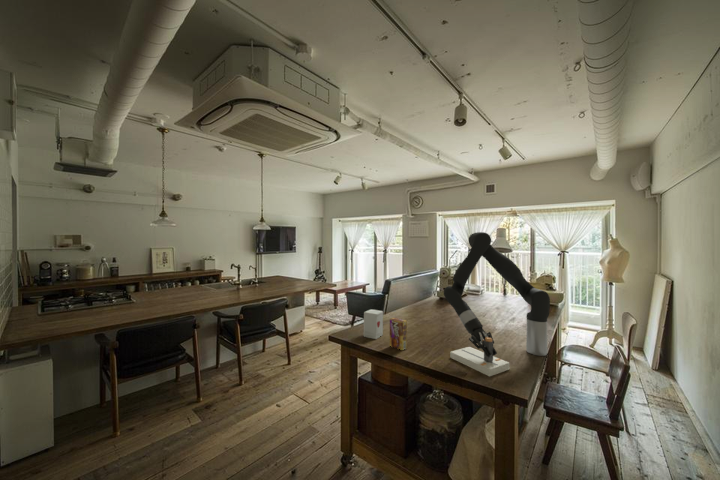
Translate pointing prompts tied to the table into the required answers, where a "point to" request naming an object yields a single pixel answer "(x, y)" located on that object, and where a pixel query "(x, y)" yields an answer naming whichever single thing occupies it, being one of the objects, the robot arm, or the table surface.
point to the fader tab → (489, 345)
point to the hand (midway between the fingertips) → (492, 355)
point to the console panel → (479, 361)
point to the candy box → (398, 333)
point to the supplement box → (373, 324)
